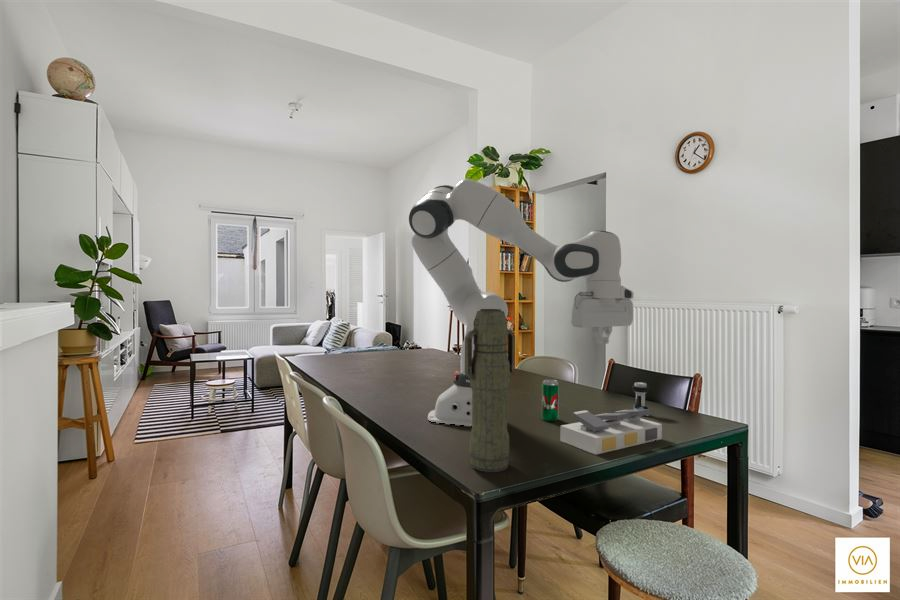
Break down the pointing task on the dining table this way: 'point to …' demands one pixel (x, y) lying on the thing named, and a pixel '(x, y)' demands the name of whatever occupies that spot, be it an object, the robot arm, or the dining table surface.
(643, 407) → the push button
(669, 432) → the dining table surface
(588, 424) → the left rocker
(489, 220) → the robot arm
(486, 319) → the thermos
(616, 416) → the middle rocker
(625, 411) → the right rocker
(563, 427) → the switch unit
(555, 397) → the soda can
